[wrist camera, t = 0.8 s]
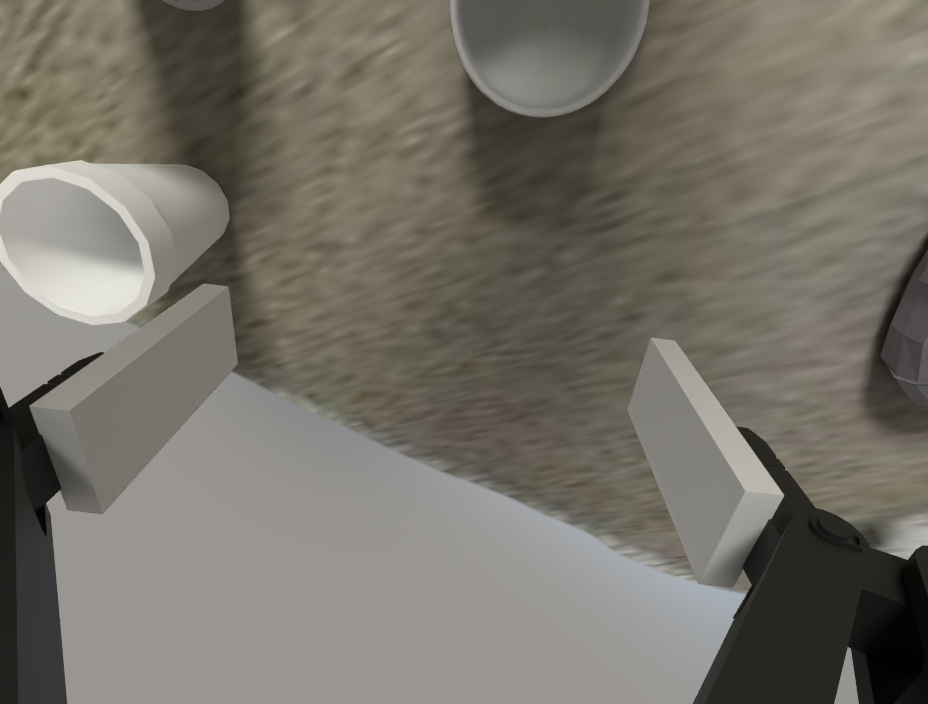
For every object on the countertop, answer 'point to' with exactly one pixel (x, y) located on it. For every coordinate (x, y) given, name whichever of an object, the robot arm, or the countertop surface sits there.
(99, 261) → the foam cup
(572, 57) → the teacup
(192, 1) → the glass holder
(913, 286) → the soft grey pack
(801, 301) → the countertop surface
